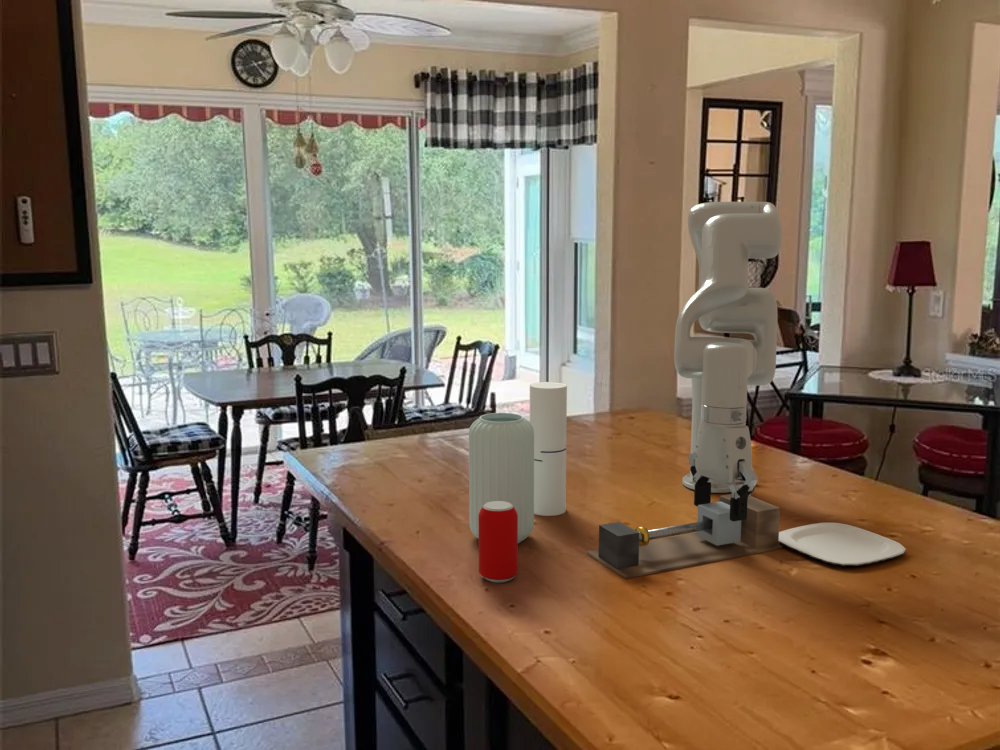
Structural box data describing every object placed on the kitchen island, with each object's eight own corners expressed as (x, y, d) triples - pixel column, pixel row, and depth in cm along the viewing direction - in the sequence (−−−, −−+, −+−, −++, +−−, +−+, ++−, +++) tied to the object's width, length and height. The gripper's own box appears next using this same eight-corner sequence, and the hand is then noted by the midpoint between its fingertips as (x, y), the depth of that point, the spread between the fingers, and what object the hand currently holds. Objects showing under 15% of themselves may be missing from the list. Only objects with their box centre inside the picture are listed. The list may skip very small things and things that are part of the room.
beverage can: (504, 588, 138) (504, 513, 136) (471, 579, 141) (470, 507, 139) (524, 575, 143) (524, 503, 141) (492, 567, 147) (491, 497, 145)
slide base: (736, 527, 166) (738, 490, 164) (782, 548, 155) (784, 509, 154) (586, 553, 152) (587, 514, 151) (625, 578, 142) (625, 536, 141)
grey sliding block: (719, 531, 160) (720, 501, 159) (740, 541, 155) (741, 510, 154) (696, 535, 158) (698, 505, 157) (717, 545, 153) (718, 514, 152)
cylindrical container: (563, 516, 172) (564, 389, 168) (526, 514, 173) (526, 387, 169) (567, 505, 179) (569, 382, 175) (532, 503, 180) (533, 381, 176)
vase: (541, 531, 164) (542, 413, 160) (522, 553, 153) (522, 426, 149) (482, 525, 167) (482, 408, 164) (460, 545, 157) (458, 421, 153)
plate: (843, 577, 143) (843, 567, 143) (761, 542, 159) (762, 533, 159) (919, 558, 151) (919, 548, 151) (834, 527, 167) (835, 518, 167)
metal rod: (733, 525, 159) (734, 508, 159) (745, 531, 157) (746, 513, 156) (608, 547, 149) (608, 529, 148) (618, 553, 146) (618, 534, 145)
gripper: (775, 422, 146) (771, 523, 149) (709, 405, 162) (706, 497, 164) (739, 426, 143) (734, 529, 146) (675, 408, 159) (672, 502, 161)
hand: (719, 512), depth 155 cm, fingers open, 9 cm apart
